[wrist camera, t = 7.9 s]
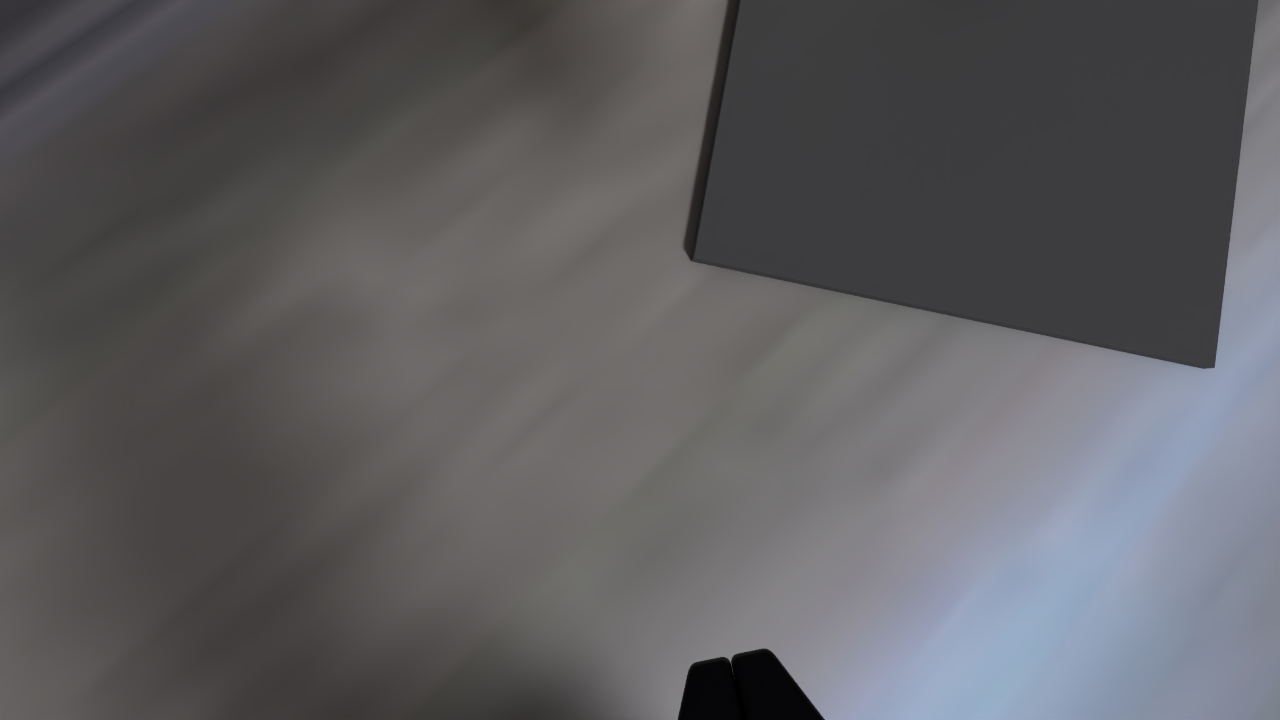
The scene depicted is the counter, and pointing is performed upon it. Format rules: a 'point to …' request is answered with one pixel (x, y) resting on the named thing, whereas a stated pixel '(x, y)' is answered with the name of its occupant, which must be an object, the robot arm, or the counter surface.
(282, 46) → the counter surface
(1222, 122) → the rubber mat
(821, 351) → the counter surface
